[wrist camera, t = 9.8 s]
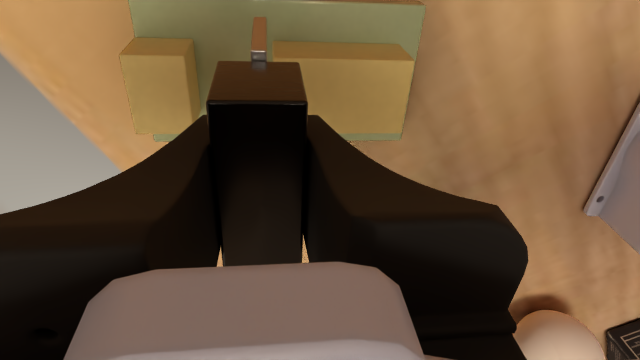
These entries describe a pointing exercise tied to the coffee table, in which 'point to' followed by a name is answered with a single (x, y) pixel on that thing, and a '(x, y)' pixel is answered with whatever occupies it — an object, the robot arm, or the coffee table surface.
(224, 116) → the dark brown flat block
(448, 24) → the coffee table surface
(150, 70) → the butter pat
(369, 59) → the butter stick
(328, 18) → the butter dish
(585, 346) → the egg
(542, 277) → the coffee table surface
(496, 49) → the coffee table surface
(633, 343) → the small box
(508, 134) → the coffee table surface
